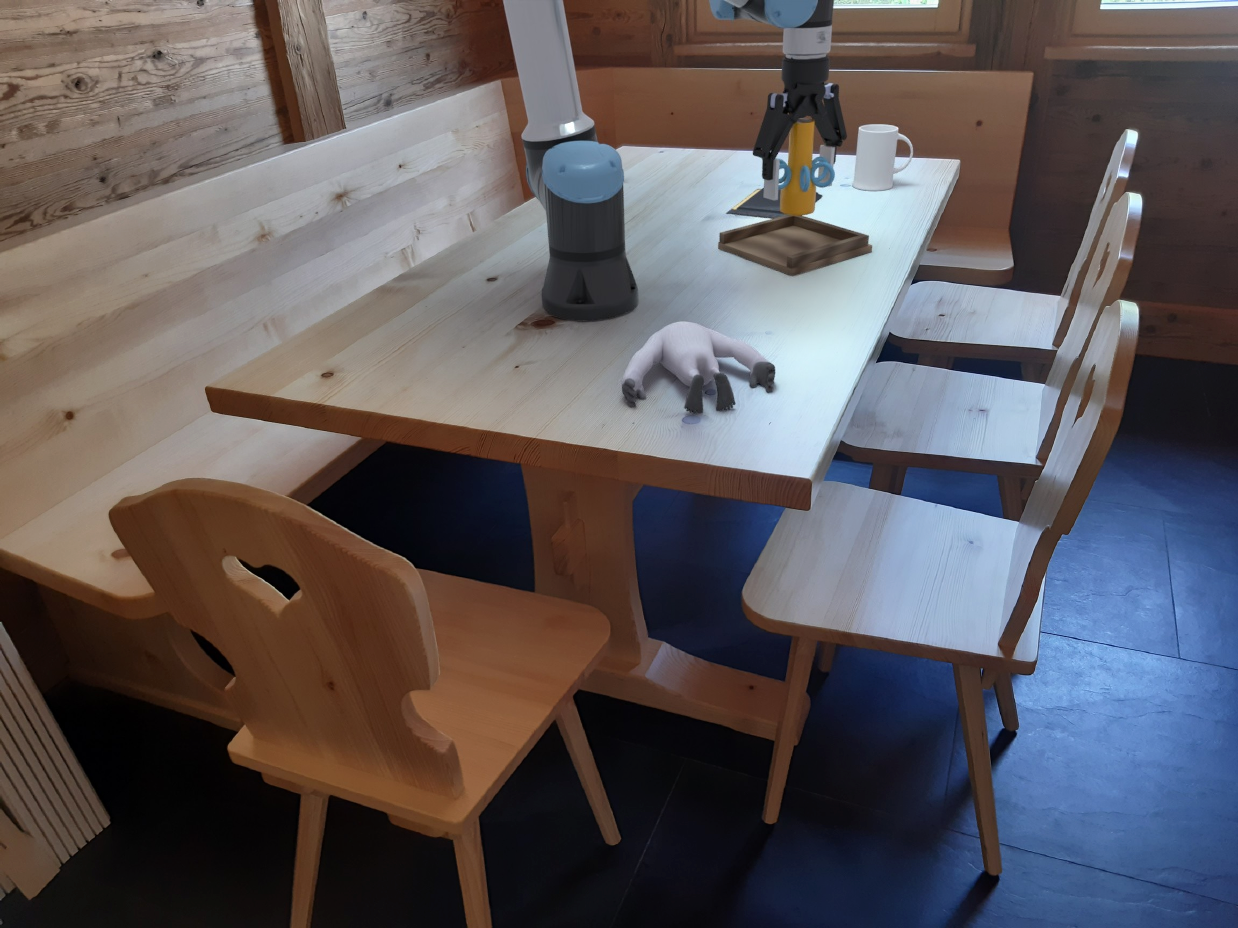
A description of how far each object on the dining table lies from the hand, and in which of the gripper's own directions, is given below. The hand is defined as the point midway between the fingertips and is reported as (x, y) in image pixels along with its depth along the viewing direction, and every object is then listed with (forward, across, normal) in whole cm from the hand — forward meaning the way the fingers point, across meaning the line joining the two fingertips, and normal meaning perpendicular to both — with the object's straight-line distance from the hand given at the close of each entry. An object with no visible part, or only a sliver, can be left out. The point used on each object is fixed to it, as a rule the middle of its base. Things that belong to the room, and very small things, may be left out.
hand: (798, 191), depth 156 cm
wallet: (+11, +18, +24) cm, 32 cm away
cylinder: (+4, 0, 0) cm, 4 cm away
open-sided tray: (+10, 0, 0) cm, 10 cm away
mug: (+11, +44, +19) cm, 49 cm away
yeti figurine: (+11, -46, -29) cm, 56 cm away
